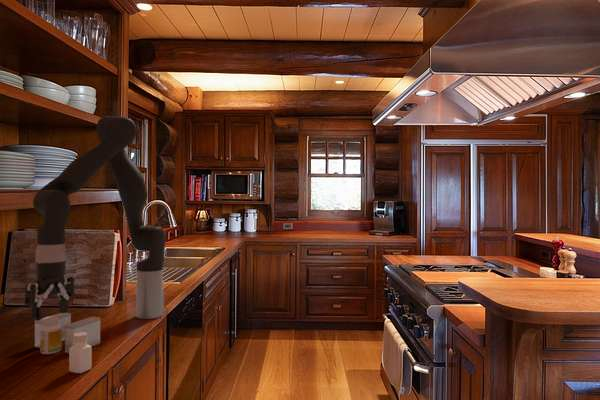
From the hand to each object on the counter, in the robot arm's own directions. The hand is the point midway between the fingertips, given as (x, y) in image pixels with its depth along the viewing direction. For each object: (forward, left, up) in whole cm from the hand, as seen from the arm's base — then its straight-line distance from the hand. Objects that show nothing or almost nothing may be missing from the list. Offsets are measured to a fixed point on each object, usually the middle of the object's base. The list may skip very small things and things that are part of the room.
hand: (50, 316), depth 130 cm
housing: (-6, 0, -10) cm, 12 cm away
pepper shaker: (+7, +19, -10) cm, 23 cm away
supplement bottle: (0, 0, -10) cm, 10 cm away
